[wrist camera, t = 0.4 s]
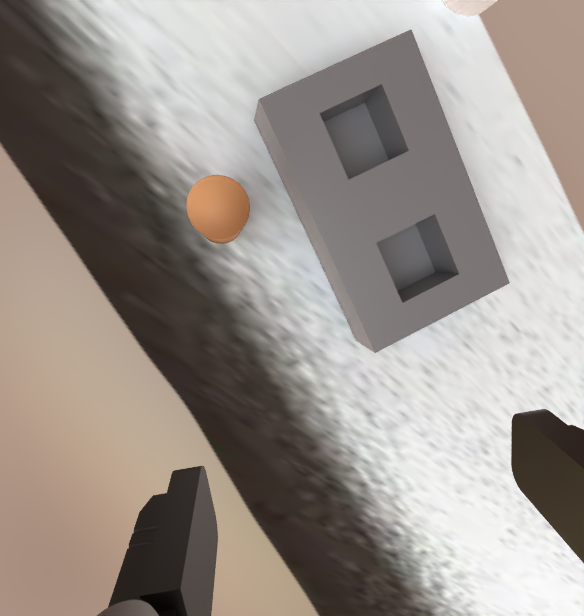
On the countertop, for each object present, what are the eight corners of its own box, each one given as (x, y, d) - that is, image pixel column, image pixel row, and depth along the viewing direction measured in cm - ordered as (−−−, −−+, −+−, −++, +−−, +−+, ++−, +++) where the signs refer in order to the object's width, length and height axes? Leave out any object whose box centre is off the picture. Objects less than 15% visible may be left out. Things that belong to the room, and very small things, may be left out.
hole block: (254, 120, 36) (259, 99, 31) (386, 59, 37) (411, 29, 32) (356, 340, 39) (375, 352, 34) (474, 279, 40) (509, 283, 35)
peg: (191, 211, 36) (175, 191, 24) (230, 193, 36) (232, 164, 24) (211, 250, 37) (204, 249, 25) (248, 232, 37) (260, 222, 25)
